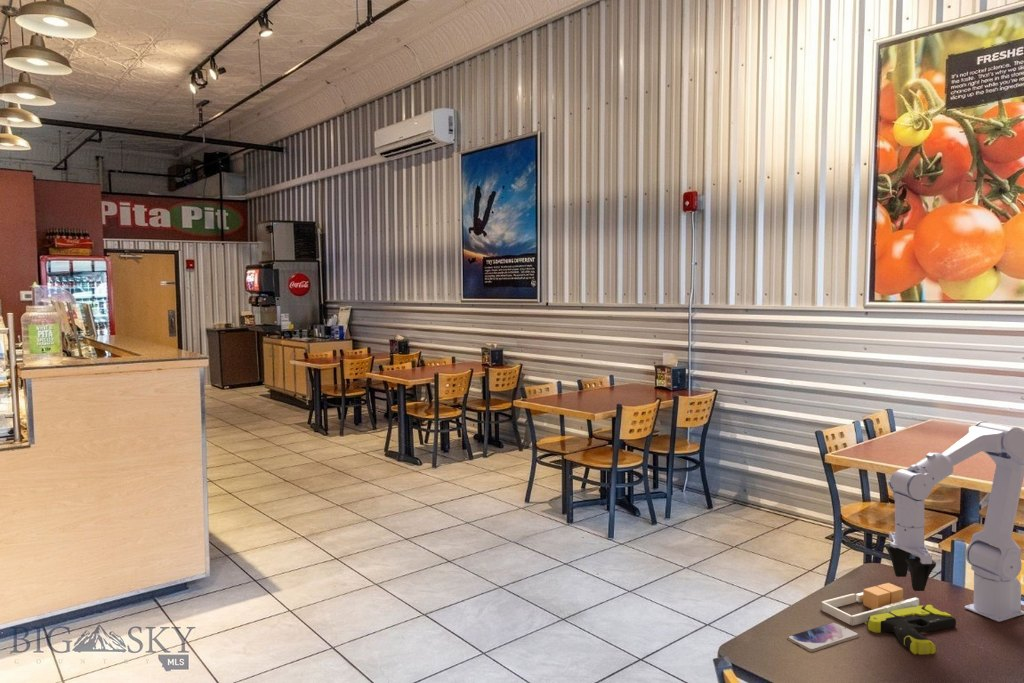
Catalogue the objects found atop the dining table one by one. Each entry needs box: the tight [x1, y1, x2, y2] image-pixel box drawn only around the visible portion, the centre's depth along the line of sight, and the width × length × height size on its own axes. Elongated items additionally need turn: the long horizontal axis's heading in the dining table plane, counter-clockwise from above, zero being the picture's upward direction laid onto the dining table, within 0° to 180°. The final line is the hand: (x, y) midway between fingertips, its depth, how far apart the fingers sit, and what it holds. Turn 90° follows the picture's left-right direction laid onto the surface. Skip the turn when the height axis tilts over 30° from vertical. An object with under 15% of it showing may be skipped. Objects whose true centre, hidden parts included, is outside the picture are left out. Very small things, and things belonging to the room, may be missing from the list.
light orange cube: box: [876, 582, 904, 604], centre depth 164 cm, size 4×4×4 cm
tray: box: [820, 593, 886, 626], centre depth 160 cm, size 11×9×2 cm
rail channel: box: [855, 591, 920, 613], centre depth 164 cm, size 11×8×2 cm
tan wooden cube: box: [862, 585, 890, 610], centre depth 163 cm, size 4×4×4 cm
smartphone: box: [786, 622, 860, 653], centre depth 149 cm, size 7×1×15 cm
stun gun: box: [864, 604, 957, 655], centre depth 149 cm, size 3×19×15 cm
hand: (909, 583), depth 153 cm, fingers open, 7 cm apart
